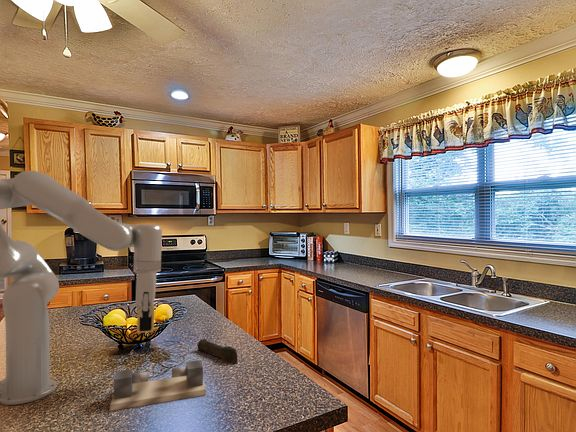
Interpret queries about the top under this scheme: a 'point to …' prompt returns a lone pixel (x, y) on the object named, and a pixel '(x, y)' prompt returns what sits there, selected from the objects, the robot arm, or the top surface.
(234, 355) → the hand tool
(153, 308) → the yellow rectangular block
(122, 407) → the shaft mount
